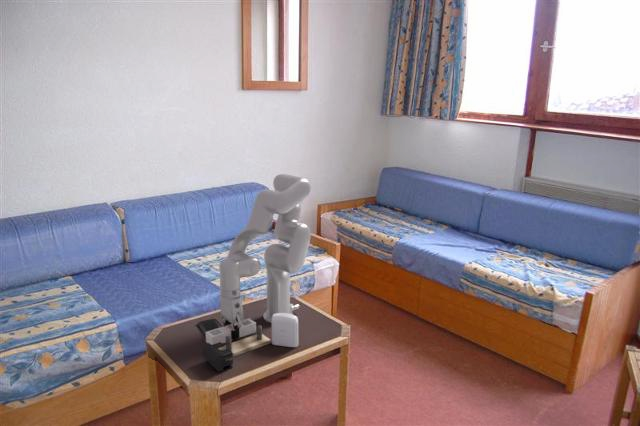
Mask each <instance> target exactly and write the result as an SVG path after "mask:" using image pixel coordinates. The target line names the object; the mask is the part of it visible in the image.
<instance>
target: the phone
mask: <svg viewBox="0 0 640 426" xmlns="http://www.w3.org/2000/svg"><path fill="white" fill-rule="evenodd" d="M197 326H198V328H199V329H200V330H201V332H202V333H203V334H204V336H205V337H206V332H207V331H211V330H214V329H217V328H220V327H223V326H222V324H221V323H220V322H219V321H218V320H217V319H216V318H210V319H207V320H206V319H205V320H200V321H197Z"/></svg>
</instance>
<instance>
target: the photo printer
mask: <svg viewBox="0 0 640 426" xmlns="http://www.w3.org/2000/svg"><path fill="white" fill-rule="evenodd" d="M271 344H272V345H274V346H279V347H288V348H297V347H298V346H299V317H298V316H296V315H295V314H294V315H291V314H287V313H277V314H273V316H272V323H271Z"/></svg>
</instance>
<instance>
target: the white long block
mask: <svg viewBox="0 0 640 426" xmlns="http://www.w3.org/2000/svg"><path fill="white" fill-rule="evenodd" d="M241 322H242V326H241V327H240V329H239V338H237V339H240V338H242V337H247V336H249V335H251V334H252V335H253V334H255V333H257V330H256V327H257V322H256V321H254V320H252V319H251V318H249V317H248V318H246V319H243V321H241ZM235 325H237V323H235V324H234V326H235ZM231 330H232V325H231V324H230V325H227V326H224V325H223V326H222V327H220V328H217V329H214V330H211V331H207V332H206V336H205V342H206V344H208V343H210V344H211V345H213V344H216V343H219V342H221V343H223V344H226V336H228V335H230V336H231ZM237 339H234V340H237ZM234 340H232V339H231V342H232V341H234Z"/></svg>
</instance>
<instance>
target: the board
mask: <svg viewBox="0 0 640 426" xmlns="http://www.w3.org/2000/svg"><path fill="white" fill-rule="evenodd" d="M269 344H272V339H271V338H269V337H267V336H266V335H264V334H263V326H262V325H260V324H258V325H256V334H254V335H253V334H252V335H251V336H248V337H245V338H242V339H239V340H237V341H233V342H232V341H231V336H230V335H228V336H226V343H225V344H224V346H223V347H220V348H219V349H221V350H224V349H227V348H229V349H230V350H231V351H232V352H233V357H236V356H239V355H241V354H244V353H247V352H250V351H252V350H255V349H258V348H260V347H264V346H267V345H269ZM230 358H232V357H230ZM230 358H227V359H226V360H229V359H230Z"/></svg>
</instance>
